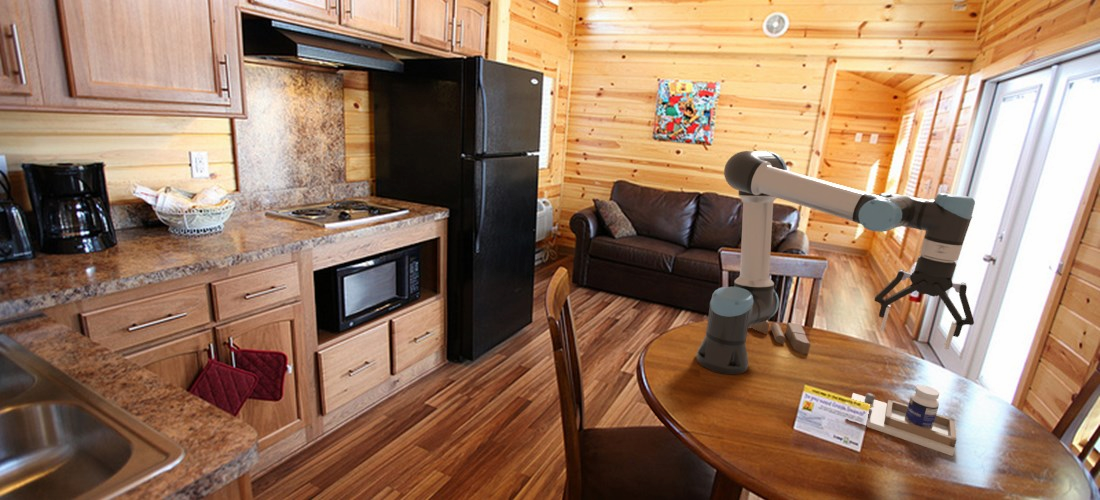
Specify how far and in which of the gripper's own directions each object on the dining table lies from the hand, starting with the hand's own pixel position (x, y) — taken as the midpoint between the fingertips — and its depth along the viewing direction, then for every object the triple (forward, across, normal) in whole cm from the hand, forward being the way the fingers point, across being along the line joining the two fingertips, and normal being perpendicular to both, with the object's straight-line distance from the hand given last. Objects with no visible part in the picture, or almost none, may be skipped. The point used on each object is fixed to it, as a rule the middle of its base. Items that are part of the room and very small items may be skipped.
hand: (913, 338), depth 127 cm
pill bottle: (+20, +6, -5) cm, 22 cm away
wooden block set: (+24, -35, +28) cm, 51 cm away
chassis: (+22, +2, -5) cm, 23 cm away
